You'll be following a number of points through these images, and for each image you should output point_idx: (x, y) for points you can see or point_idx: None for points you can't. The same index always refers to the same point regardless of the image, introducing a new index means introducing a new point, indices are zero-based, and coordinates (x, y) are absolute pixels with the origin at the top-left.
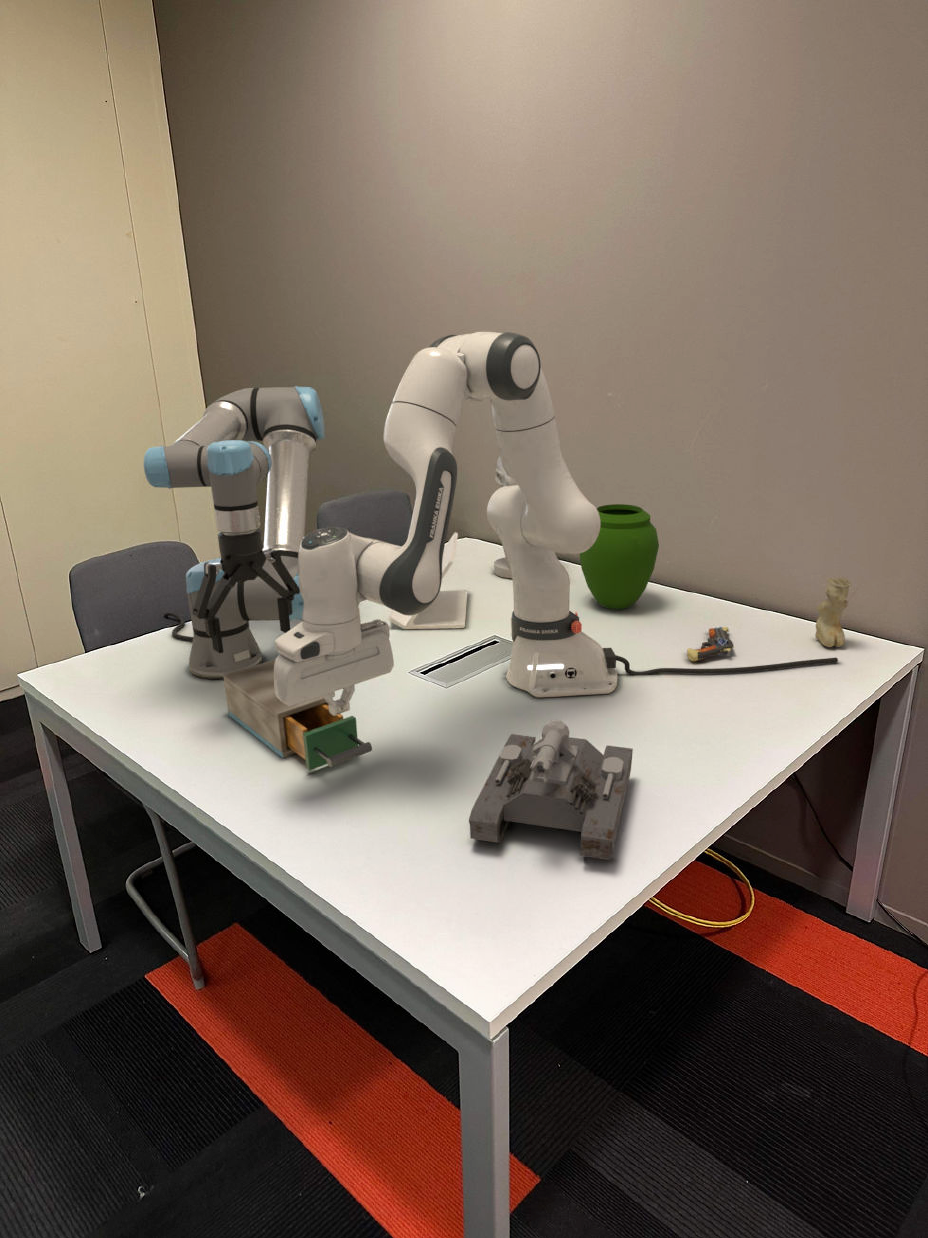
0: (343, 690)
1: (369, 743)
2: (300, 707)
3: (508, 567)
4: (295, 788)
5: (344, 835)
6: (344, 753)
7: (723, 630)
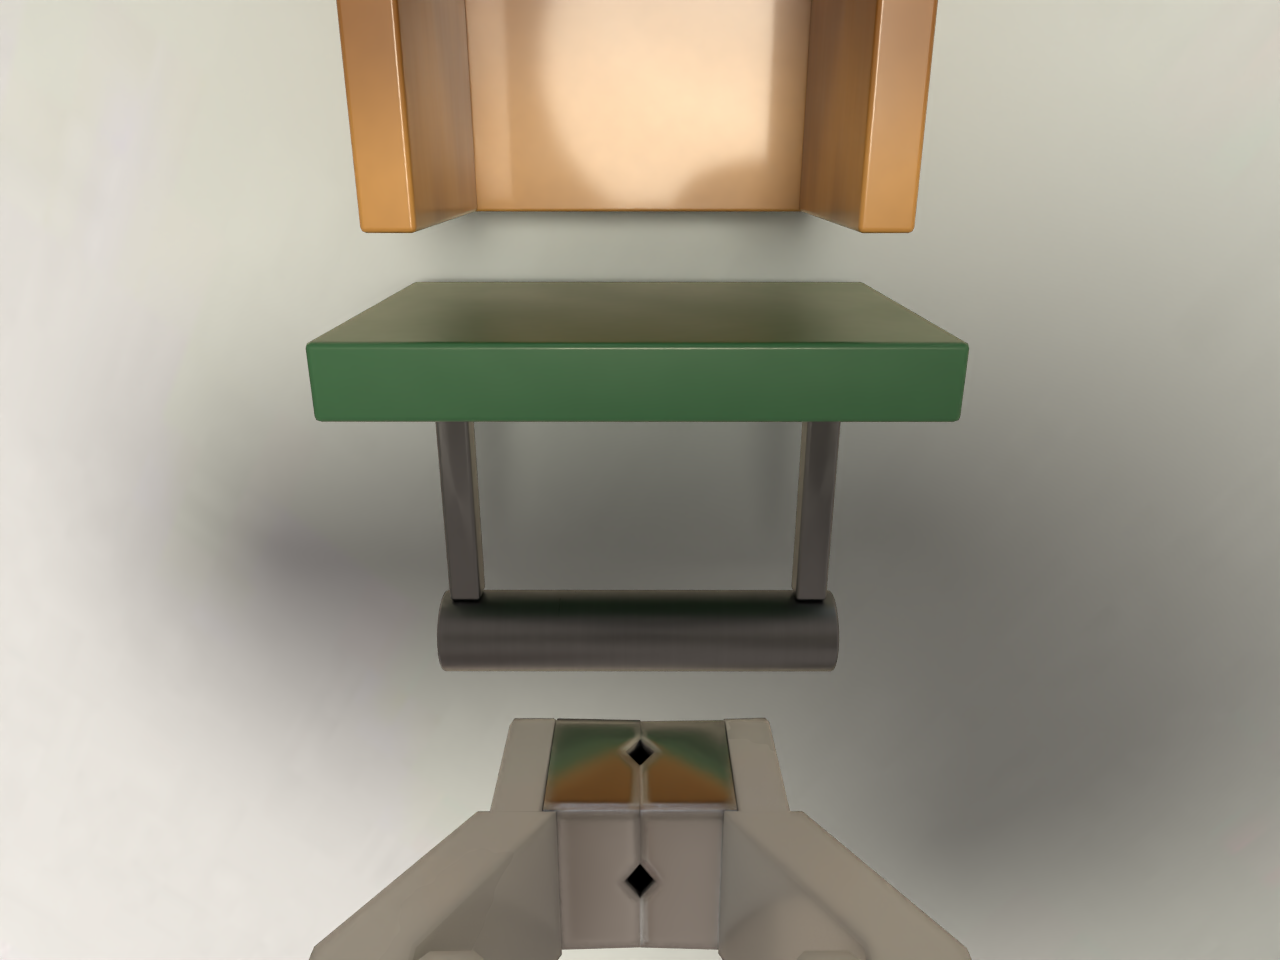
0: (822, 923)
1: (829, 664)
2: None
3: None
4: (276, 400)
5: (325, 932)
6: (580, 663)
7: None
